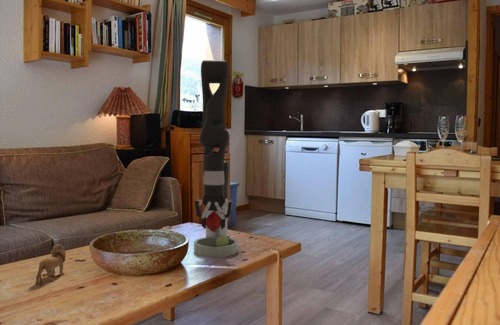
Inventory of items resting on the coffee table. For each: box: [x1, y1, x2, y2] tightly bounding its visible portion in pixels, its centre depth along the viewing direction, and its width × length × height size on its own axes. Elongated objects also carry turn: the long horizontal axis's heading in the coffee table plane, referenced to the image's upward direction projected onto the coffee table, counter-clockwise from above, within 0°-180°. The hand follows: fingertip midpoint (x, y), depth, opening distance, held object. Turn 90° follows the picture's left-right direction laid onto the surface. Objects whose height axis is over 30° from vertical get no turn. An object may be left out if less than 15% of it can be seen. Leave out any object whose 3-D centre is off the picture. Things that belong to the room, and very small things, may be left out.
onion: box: [206, 211, 221, 232], centre depth 160 cm, size 6×6×8 cm
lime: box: [216, 236, 229, 247], centre depth 165 cm, size 5×5×5 cm
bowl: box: [193, 236, 239, 258], centre depth 163 cm, size 16×16×4 cm
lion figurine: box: [35, 243, 67, 285], centre depth 132 cm, size 15×5×9 cm, turn 3°
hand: (213, 228), depth 160 cm, fingers closed on onion, 6 cm apart
